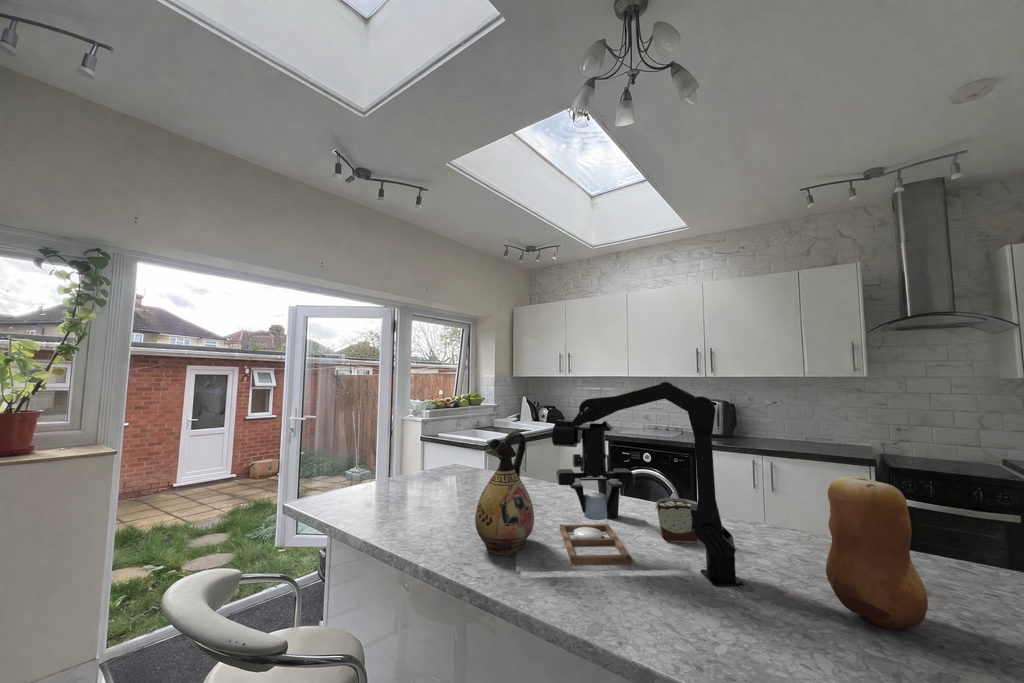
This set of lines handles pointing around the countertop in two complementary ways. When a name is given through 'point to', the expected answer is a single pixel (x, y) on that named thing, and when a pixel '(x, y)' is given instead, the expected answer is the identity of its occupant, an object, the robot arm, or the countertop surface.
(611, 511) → the drinking cup
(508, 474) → the ceramic jug
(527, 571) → the countertop surface
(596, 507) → the white-capped blue cylinder
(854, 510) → the butternut squash
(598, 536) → the white smooth oval
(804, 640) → the countertop surface
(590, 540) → the rack
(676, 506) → the food container
